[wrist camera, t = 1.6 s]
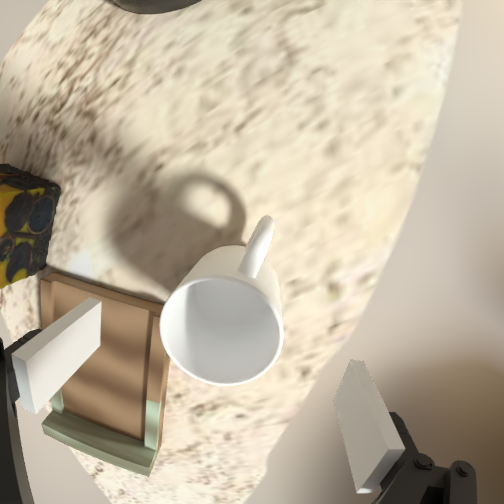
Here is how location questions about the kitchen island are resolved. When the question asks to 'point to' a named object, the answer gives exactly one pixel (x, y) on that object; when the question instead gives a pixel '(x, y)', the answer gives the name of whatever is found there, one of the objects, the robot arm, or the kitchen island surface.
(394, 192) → the kitchen island surface
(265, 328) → the cup
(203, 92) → the kitchen island surface
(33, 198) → the candle
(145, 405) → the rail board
